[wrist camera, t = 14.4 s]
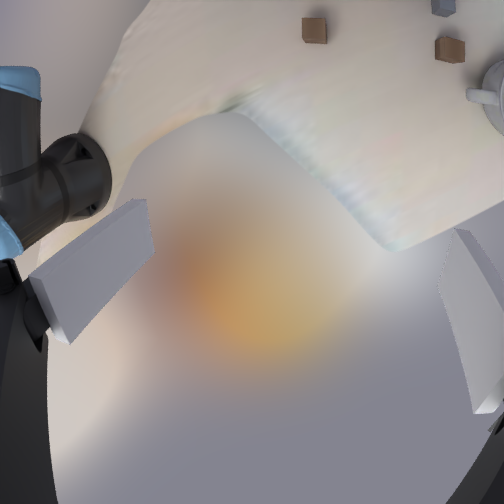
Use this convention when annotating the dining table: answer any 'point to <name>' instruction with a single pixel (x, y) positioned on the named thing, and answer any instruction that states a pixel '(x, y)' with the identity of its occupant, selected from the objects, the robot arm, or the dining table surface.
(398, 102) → the dining table surface
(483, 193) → the dining table surface
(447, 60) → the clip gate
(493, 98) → the teacup
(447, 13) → the bracket
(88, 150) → the robot arm
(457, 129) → the dining table surface
